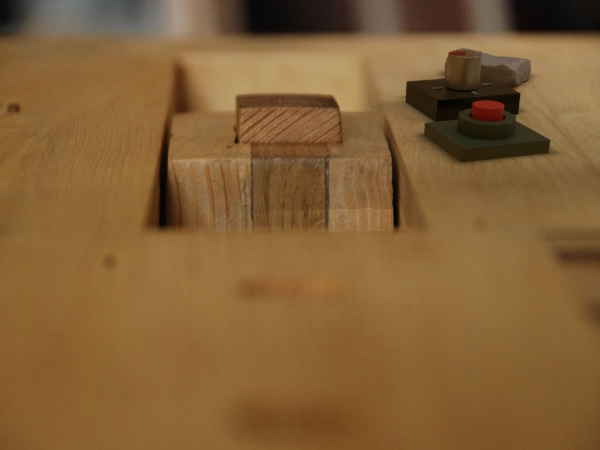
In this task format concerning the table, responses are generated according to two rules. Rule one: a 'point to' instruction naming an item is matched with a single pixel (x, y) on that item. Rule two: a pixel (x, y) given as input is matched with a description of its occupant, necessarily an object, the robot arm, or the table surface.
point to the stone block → (503, 68)
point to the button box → (485, 137)
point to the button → (487, 110)
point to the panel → (457, 97)
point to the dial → (463, 70)
